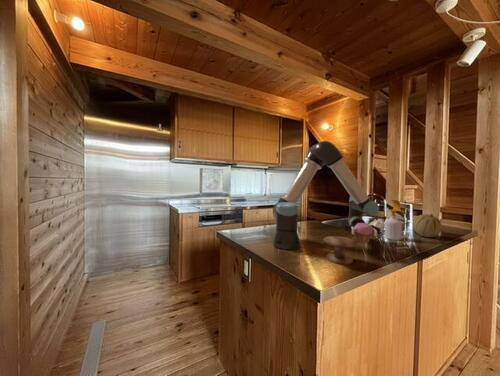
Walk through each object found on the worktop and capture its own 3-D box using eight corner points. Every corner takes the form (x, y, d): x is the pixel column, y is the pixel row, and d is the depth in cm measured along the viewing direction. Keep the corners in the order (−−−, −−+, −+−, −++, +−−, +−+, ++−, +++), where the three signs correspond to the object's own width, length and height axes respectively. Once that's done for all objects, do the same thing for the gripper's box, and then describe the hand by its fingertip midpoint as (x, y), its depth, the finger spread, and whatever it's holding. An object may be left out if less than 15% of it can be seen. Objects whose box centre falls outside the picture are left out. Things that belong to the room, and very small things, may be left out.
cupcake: (359, 239, 113) (360, 220, 113) (376, 243, 106) (377, 223, 106) (349, 241, 108) (349, 222, 108) (366, 246, 101) (367, 225, 101)
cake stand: (330, 265, 91) (330, 244, 91) (318, 254, 105) (319, 236, 105) (362, 265, 91) (363, 244, 91) (347, 254, 105) (347, 236, 105)
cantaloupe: (418, 233, 150) (418, 211, 150) (445, 237, 138) (446, 214, 137) (408, 235, 143) (408, 213, 142) (435, 241, 130) (436, 216, 130)
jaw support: (394, 229, 147) (383, 219, 149) (384, 238, 149) (373, 228, 150) (387, 226, 159) (376, 216, 161) (377, 234, 161) (367, 224, 162)
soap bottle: (380, 237, 139) (381, 199, 138) (391, 236, 142) (392, 198, 141) (394, 240, 130) (395, 200, 130) (405, 239, 133) (406, 199, 132)
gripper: (378, 232, 121) (390, 243, 99) (337, 228, 128) (339, 238, 106) (379, 219, 120) (391, 227, 99) (337, 216, 127) (340, 223, 106)
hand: (364, 232), depth 103 cm, fingers closed on cupcake, 9 cm apart
